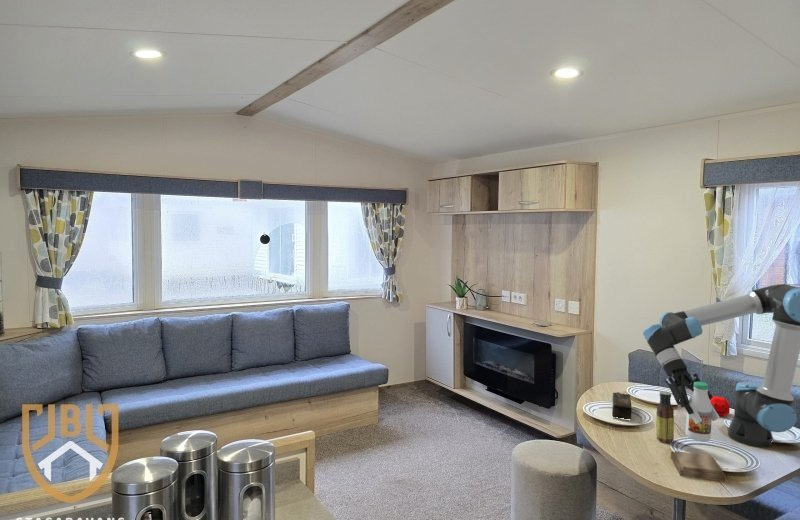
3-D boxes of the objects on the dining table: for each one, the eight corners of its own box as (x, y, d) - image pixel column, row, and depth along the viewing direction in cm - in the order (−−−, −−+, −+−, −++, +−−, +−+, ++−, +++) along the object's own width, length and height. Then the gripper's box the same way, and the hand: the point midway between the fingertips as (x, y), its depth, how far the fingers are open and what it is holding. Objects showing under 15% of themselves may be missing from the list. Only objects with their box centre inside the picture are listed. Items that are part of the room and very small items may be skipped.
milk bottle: (680, 434, 186) (683, 381, 184) (696, 431, 189) (699, 378, 187) (699, 443, 179) (703, 388, 177) (715, 440, 182) (719, 385, 180)
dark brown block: (630, 406, 244) (630, 392, 244) (631, 421, 227) (632, 407, 226) (612, 403, 247) (612, 390, 247) (612, 419, 230) (612, 404, 229)
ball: (708, 415, 233) (709, 399, 232) (707, 409, 240) (708, 393, 239) (729, 419, 229) (730, 402, 228) (728, 413, 236) (729, 396, 235)
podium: (712, 462, 190) (712, 454, 190) (725, 481, 176) (725, 472, 176) (670, 457, 194) (670, 449, 193) (680, 475, 180) (680, 467, 180)
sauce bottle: (671, 438, 210) (673, 390, 208) (675, 444, 204) (677, 396, 202) (653, 436, 212) (656, 389, 210) (657, 442, 206) (659, 394, 204)
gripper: (685, 365, 200) (721, 421, 186) (644, 370, 193) (678, 429, 179) (698, 355, 194) (736, 412, 181) (657, 360, 187) (693, 420, 174)
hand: (707, 420), depth 180 cm, fingers closed on milk bottle, 7 cm apart
